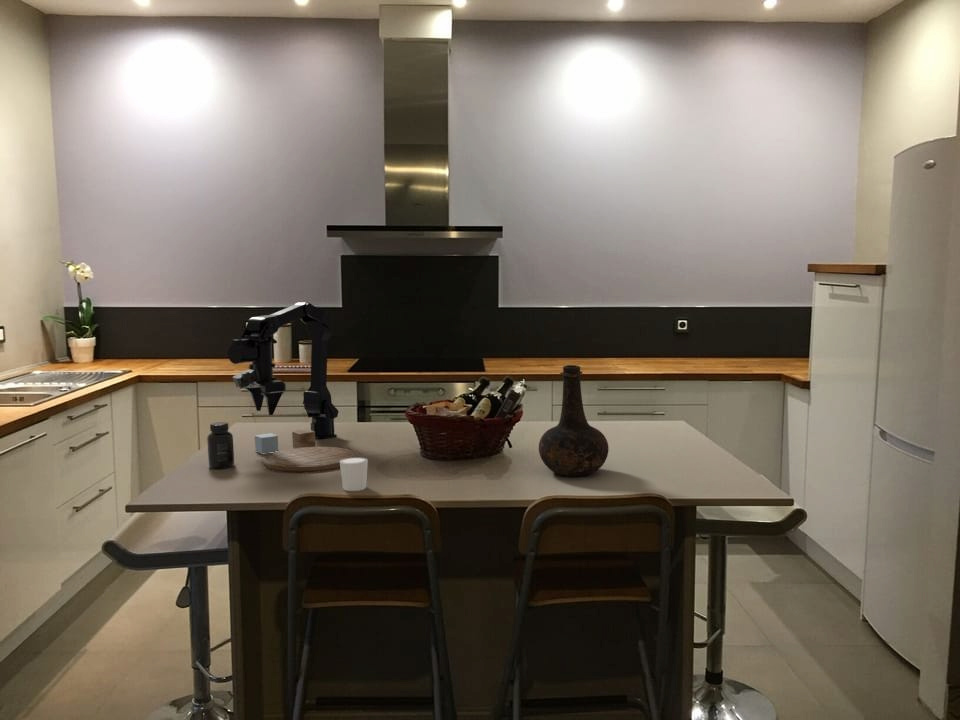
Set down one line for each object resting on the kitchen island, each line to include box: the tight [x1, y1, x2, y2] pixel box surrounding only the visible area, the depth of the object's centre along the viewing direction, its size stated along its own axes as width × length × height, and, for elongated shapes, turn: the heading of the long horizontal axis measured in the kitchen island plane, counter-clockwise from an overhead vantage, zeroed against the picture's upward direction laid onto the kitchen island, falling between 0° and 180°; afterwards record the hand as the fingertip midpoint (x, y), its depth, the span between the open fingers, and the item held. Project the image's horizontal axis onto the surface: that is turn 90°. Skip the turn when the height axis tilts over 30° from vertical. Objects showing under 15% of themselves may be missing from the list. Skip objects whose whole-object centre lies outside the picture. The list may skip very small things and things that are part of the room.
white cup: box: [339, 456, 369, 492], centre depth 207 cm, size 7×7×7 cm
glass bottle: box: [538, 364, 610, 477], centre depth 218 cm, size 18×18×28 cm
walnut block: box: [291, 428, 316, 448], centre depth 255 cm, size 5×5×5 cm
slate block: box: [254, 432, 279, 455], centre depth 250 cm, size 5×5×5 cm
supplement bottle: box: [206, 421, 235, 470], centre depth 232 cm, size 7×7×12 cm
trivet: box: [262, 446, 355, 474], centre depth 236 cm, size 25×25×2 cm
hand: (264, 412), depth 249 cm, fingers open, 9 cm apart
